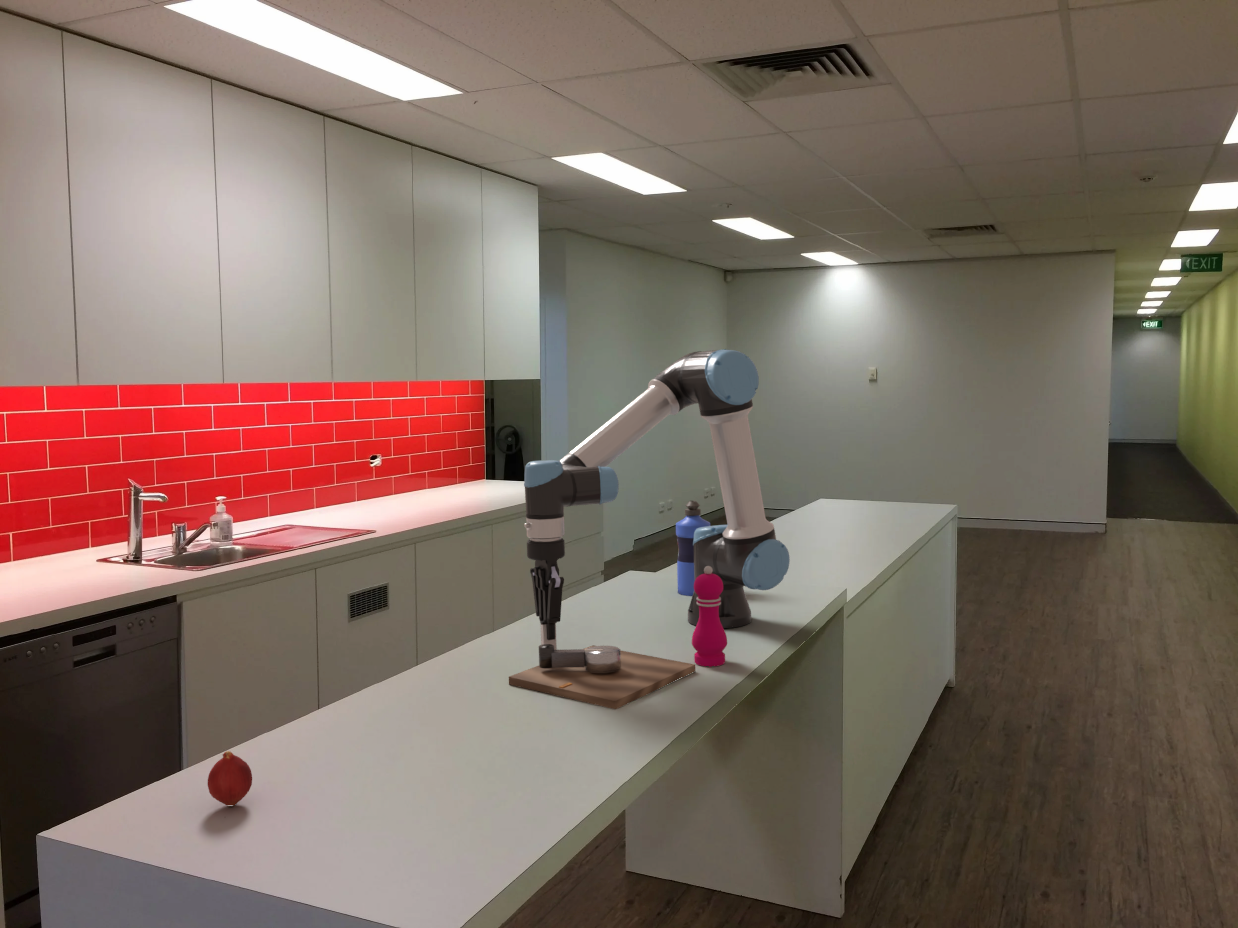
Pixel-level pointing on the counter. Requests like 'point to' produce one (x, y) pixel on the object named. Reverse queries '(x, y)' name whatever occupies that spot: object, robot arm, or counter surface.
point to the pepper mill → (709, 621)
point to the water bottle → (687, 547)
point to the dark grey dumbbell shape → (581, 658)
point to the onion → (229, 779)
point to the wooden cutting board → (605, 680)
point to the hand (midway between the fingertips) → (549, 653)
